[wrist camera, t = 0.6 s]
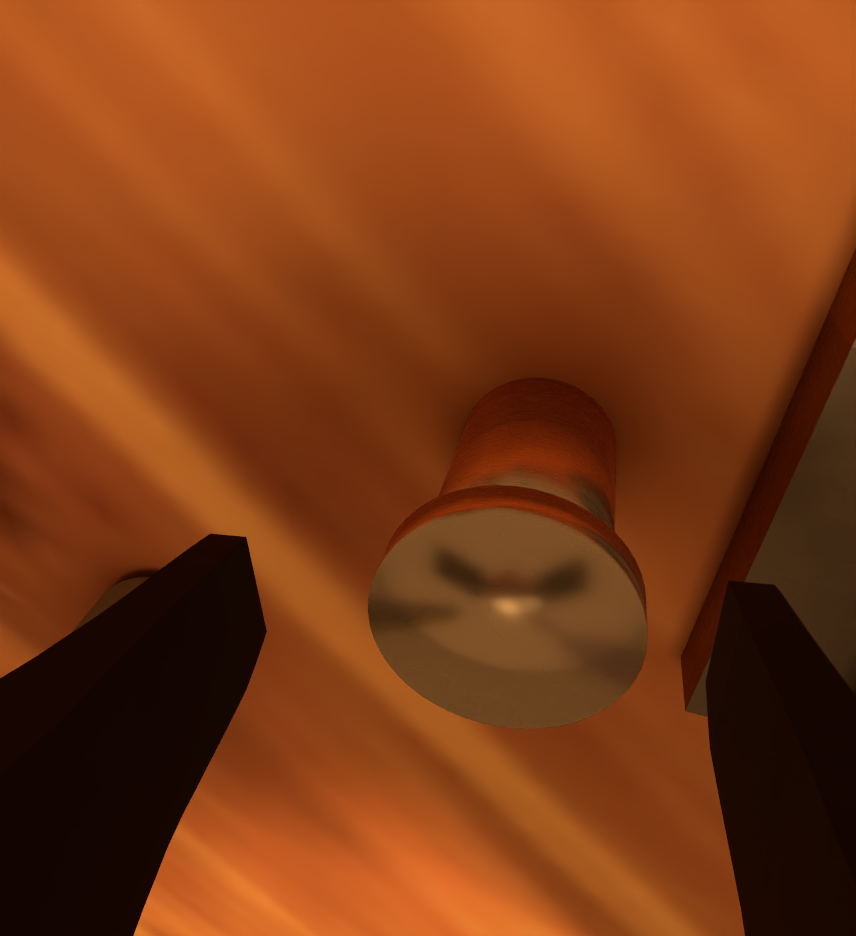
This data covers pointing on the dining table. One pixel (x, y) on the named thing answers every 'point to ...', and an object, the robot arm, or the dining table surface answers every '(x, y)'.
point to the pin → (517, 569)
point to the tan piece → (801, 510)
